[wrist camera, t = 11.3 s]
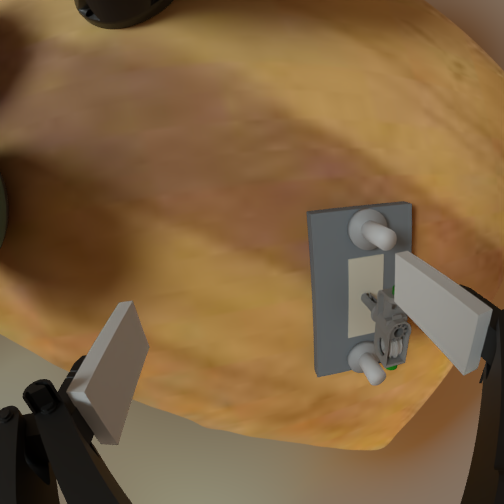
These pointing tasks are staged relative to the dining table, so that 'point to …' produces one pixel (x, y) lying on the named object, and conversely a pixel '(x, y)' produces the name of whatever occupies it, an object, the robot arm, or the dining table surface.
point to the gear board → (352, 280)
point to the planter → (3, 210)
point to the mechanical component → (388, 328)
